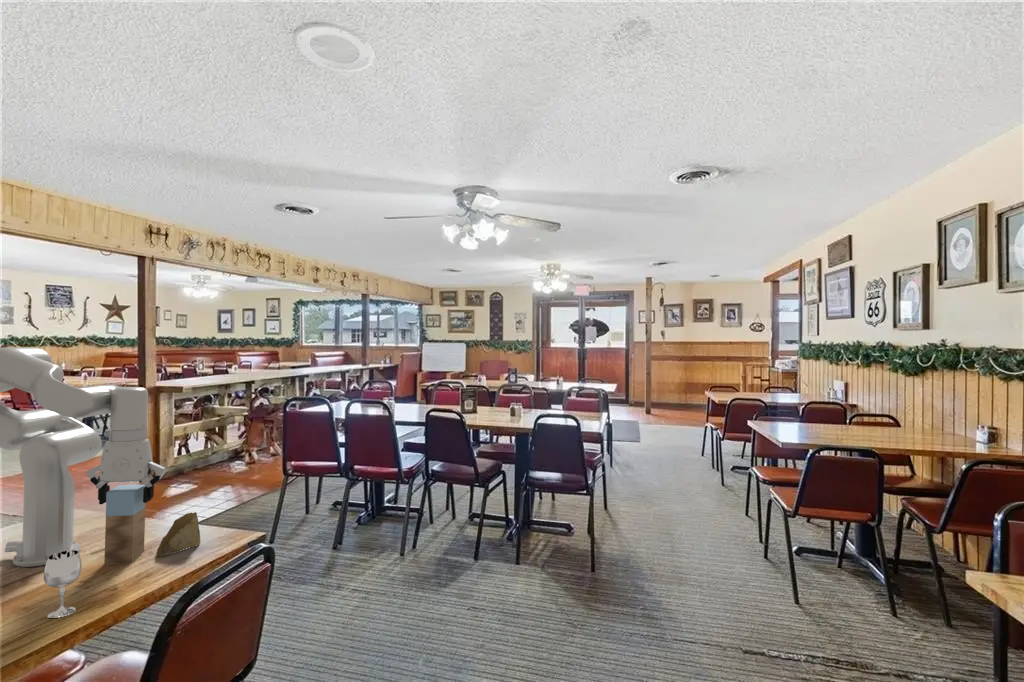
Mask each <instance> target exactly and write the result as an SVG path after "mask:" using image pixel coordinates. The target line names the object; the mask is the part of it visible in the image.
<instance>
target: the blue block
mask: <svg viewBox="0 0 1024 682" xmlns="http://www.w3.org/2000/svg"><path fill="white" fill-rule="evenodd" d="M144 487H146V485H145V484H127V485H126V484H124V485H123V484H121V485H118V486H116V487H114V488H112V489H110V491H108V492H106V502H105V517H106V516H127V515H134V514H136V513H137V512H139V511H140V510H142V509H143V508H145V509H146V503H144V502H143V489H144Z"/></svg>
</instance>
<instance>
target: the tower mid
mask: <svg viewBox="0 0 1024 682" xmlns="http://www.w3.org/2000/svg"><path fill="white" fill-rule="evenodd" d="M104 528H105V533H104V534H105V535H104V541H105V540H123V539H133V538H135V537H136V536H137V535H139V534H140V533H141V532H143V531H144V530H145V529H146V507H145V508H143V509H142V510H140V511H139V512H137V513H136V514H134V515H127V516H106V515H105V527H104Z"/></svg>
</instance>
